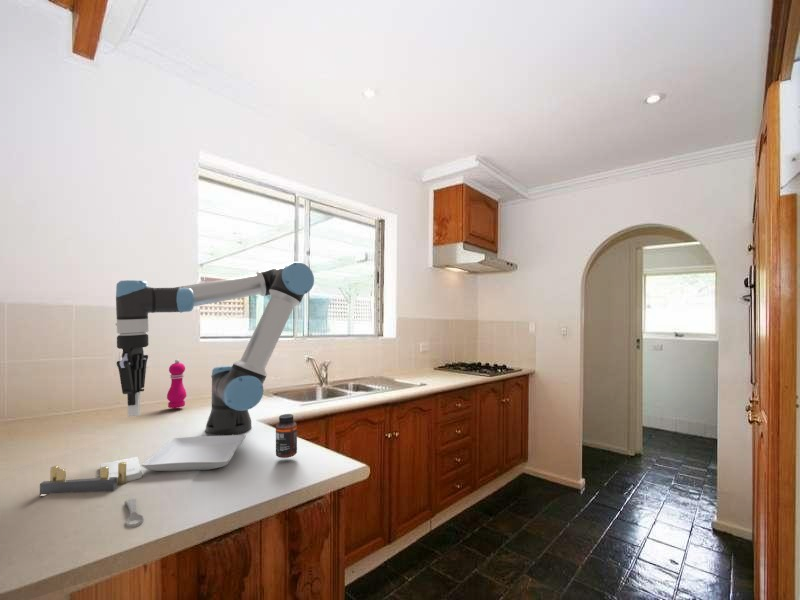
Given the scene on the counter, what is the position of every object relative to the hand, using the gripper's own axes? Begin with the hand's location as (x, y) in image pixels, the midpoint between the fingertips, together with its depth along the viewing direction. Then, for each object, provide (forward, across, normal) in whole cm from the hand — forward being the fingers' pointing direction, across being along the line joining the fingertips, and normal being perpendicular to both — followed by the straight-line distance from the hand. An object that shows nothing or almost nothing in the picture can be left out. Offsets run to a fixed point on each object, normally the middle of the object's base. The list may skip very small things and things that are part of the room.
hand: (134, 415), depth 111 cm
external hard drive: (+11, +8, 0) cm, 13 cm away
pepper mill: (+12, -56, -10) cm, 58 cm away
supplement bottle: (+13, +7, +43) cm, 45 cm away
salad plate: (+12, +6, +19) cm, 23 cm away
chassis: (+11, +21, -1) cm, 23 cm away
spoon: (+12, +35, +16) cm, 41 cm away
